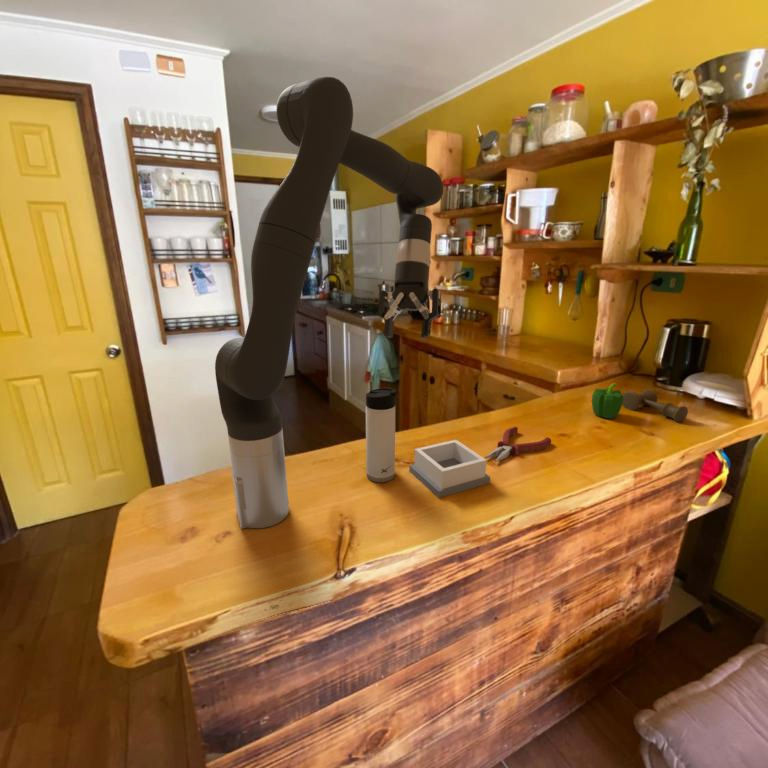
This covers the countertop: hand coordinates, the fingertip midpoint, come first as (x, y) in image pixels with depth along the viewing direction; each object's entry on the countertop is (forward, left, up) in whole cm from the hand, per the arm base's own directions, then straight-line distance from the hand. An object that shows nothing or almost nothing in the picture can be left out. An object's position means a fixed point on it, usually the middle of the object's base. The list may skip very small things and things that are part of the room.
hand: (406, 337), depth 92 cm
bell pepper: (+67, -4, -29) cm, 73 cm away
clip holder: (+4, -13, -29) cm, 32 cm away
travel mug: (-9, -6, -29) cm, 31 cm away
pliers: (+27, -7, -30) cm, 41 cm away
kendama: (+83, -7, -30) cm, 88 cm away
